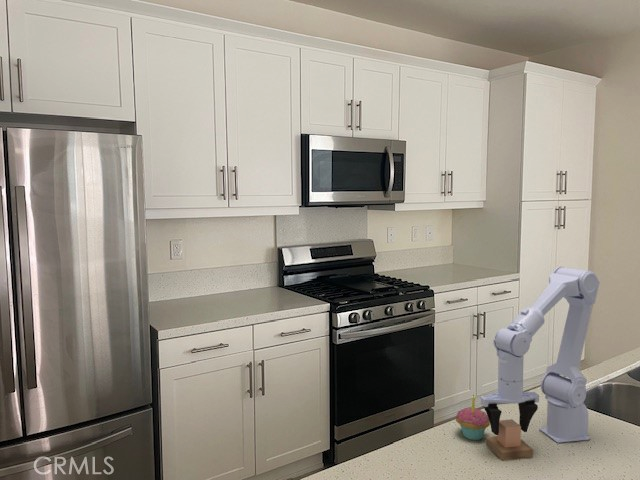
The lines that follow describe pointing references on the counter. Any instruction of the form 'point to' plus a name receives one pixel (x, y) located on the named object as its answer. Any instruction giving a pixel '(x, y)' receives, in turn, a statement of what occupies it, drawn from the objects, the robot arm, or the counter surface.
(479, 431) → the cupcake
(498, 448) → the base
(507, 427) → the block
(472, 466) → the counter surface
